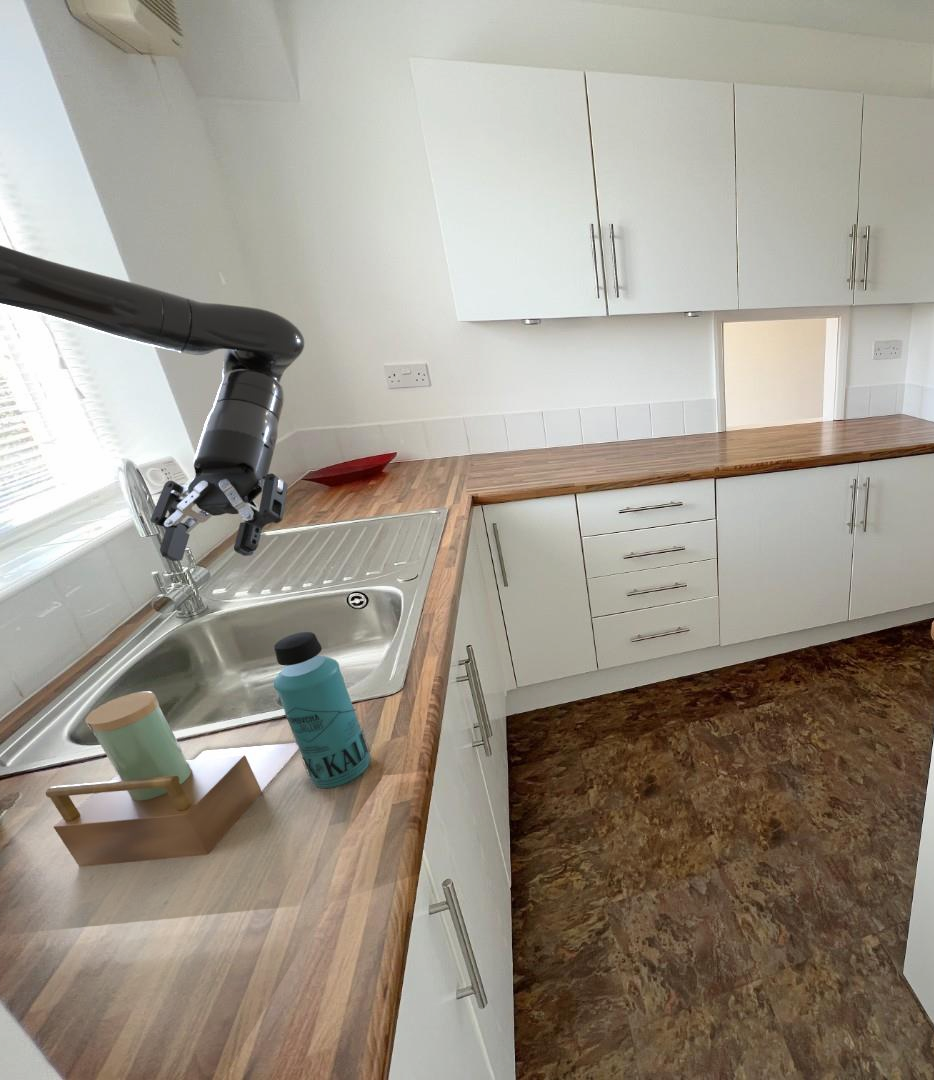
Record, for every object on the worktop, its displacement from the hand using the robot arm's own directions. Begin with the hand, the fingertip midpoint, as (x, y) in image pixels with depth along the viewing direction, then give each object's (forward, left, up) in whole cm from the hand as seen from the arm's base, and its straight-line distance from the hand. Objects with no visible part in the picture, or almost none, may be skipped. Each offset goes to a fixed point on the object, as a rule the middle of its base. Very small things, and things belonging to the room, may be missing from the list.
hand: (207, 556), depth 71 cm
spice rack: (0, -13, -27) cm, 30 cm away
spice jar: (0, -17, -20) cm, 26 cm away
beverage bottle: (+15, -11, -27) cm, 32 cm away
